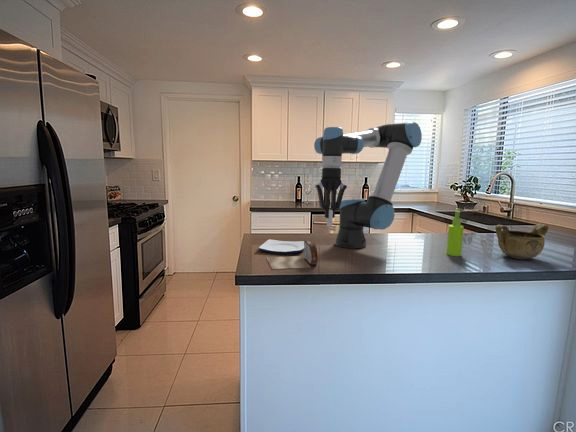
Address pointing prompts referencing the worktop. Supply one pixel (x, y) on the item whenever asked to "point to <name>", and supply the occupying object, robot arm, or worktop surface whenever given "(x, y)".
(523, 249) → the ceramic bowl
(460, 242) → the green bottle
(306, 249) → the bread slice
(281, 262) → the cork mat
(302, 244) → the plate
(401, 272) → the worktop surface
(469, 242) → the worktop surface
